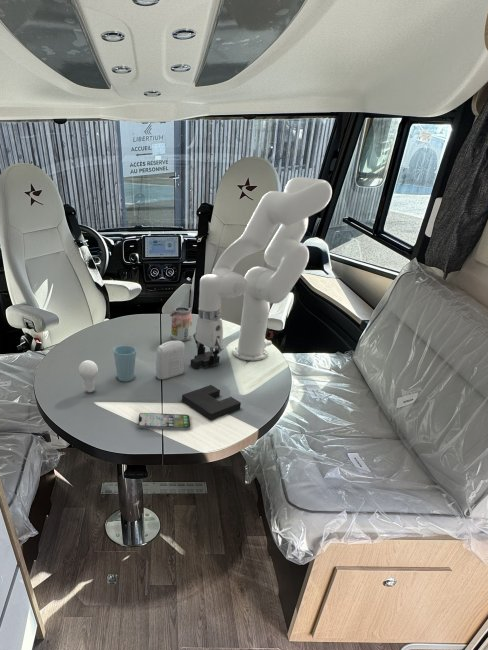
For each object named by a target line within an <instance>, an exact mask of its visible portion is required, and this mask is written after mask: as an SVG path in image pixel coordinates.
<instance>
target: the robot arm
mask: <svg viewBox="0 0 488 650" xmlns="http://www.w3.org/2000/svg"><path fill="white" fill-rule="evenodd" d="M332 195H333V189H332V186H331V184H330V183H329V182H328V181H327V180H325V179H319V178H312V177H305V176H304V177H303V176H296V177H293V178H291V179H290V180H288V181H287V183H286V184H285V187H284V190H283V191H278V190H271V191H268V192H266V193H264V195H263V196H262V197H261V198H260V201H259V202H258V204H257V206H256V208H255V210H254V211H253V213H252V215H251V218H250V219H249V221H248V223H247V225H246V227H245V228H244V230H243V233H242V234H241V235H240V237H238V238H237V239H236V240H234V242H232V243H231V244H230V245H229V246H228V247H227V248H226V249H225V250H223V252H222V253H221V255H220V256H219V258H217V259H218V260H217V261H216V263H215V265H214V267H213V269H212V272H211V274H208V273H207V274H204V275H202V276H201V278H200V279H199V296H198V315H197V318H196V322H195V323H196V324H195V332H194V334H192V336H193V339H194V343H195V345H196V347H195V348H196V349H197V351H196V353H197V354H196V355H199V354H202V353H205V352H206V347H207V348H209V351H210V352H211V355H210V357H209V365H210V366H209V367H212V366H214V365H217V364H218V363H217V355H219V354H220V353H221V352H222V351H223V350H224V345H223V342H224V341H223V338H224V337H223V336H224V329H223V328H224V327H223V319H222V318H221V317H222V314H221V313H222V300H223V299H232V298H234V299H235V298H238V297H240V296H242V295H243V304H242V311H241V319H240V328H239V336H238V343H237V346H234V348H233V351H232V353H233V355H234V356H235V357H236V358H238V359H240V360H244V361H253V362H254V361H255V362H256V361H261V360H264V359H265V358H266V357H267V355H268V354H267V350H266V348H267V347H270V346H272V344H273V342H272V340H270V339H269V340H266V335H267V329H268V323H269V322H268V321H269V317H270V316H269V315H270V307H271V304H274V305H276V304H280V303H281V302H282V301H284V300H286V298H287V297H288V295H289V294H290V293H291V291H292V290H293V288H294V286H295V285H296V283H297V282H298V280H299V279H300V277H301V276H302V274H303V273H304V271H305V269H306V267H307V265H308V263H309V259H310V251H309V248H308V246H307V245H306V244H304V243H303V242H301V241H302V240H303V238H304V236H305V234H306V232H307V230H308V227H309V217H311V216H313V215H315V214H317V213H319V212H321V211H322V210H324V209H325V208H326V207H327V205H329V202H330V201H331V199H332ZM279 224H280V226H279V227H278V225H279ZM277 227H278V229H277V230H276V228H277ZM275 230H276V232H275ZM274 232H275V234H274V236H273V237H272V235H273V233H274ZM271 237H272V239H271V240H270V238H271ZM268 242H269V243H268ZM267 244H268V245H267ZM266 246H267V247H266ZM265 248H266V249H265ZM264 249H265V251H264V255H263V260H264V262H265V263H266V264H267V265H268V266H270V267H272V268H274V269H276V271H275V270H272V269H269V268H267V267H264V266H253V267H251V268H250V269H249V270H248V271H246V273H245V275H244V276H243V275H242V274H240V273H237V272H236V271H234V269H235V267H236V266H237V264H238V263H239V262H240V261H241V260H243V259H244V258H246V257H247V256H250V255H253V254H256V253H258V252H262V250H264Z"/></svg>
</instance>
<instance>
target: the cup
mask: <svg viewBox="0 0 488 650" xmlns="http://www.w3.org/2000/svg"><path fill="white" fill-rule="evenodd" d="M113 357H114V363H115V369H116V375H117V379H118V380H119V381H121V382H130V381H132V380H134V378H135V369H136V357H137V348H136V347H134V346H133V345H126V344H125V345H118V346H115V347H114V348H113Z"/></svg>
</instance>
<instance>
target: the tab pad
mask: <svg viewBox="0 0 488 650" xmlns="http://www.w3.org/2000/svg"><path fill="white" fill-rule="evenodd" d="M210 355H211V352H210V350H208V351H205V353H202V354H199V355H197V354H196V355H194V356H193V357H194V358H191V359H190V367H191V368H193V369H199V368H201V367H202V368H204V369H207V368H208V367H211V366H210V365H209V357H210ZM220 358H221V356H219V354H217V364H220V360H221V359H220Z"/></svg>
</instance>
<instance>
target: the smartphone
mask: <svg viewBox="0 0 488 650" xmlns="http://www.w3.org/2000/svg"><path fill="white" fill-rule="evenodd" d="M190 418H191V417H190V415H189V414H183V413H181V414H180V413H160V412H159V413H155V412H140V413H139V415H138V428H139V429H149V430H174V431H175V430H176V431H189V430H190V429H191V421H190V420H191V419H190Z"/></svg>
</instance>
